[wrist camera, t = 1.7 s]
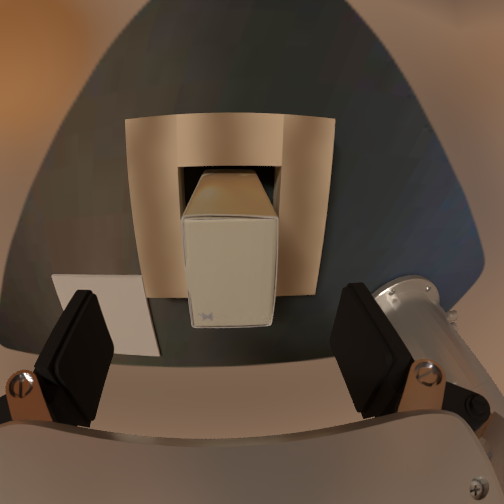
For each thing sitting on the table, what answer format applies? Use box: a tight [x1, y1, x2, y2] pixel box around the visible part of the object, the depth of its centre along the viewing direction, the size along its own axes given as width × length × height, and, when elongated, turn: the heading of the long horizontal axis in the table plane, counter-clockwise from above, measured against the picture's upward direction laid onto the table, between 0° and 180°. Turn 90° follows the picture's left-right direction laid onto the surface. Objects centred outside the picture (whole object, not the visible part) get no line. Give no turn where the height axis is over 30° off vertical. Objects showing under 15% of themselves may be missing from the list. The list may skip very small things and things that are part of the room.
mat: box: [52, 274, 160, 356], centre depth 29 cm, size 11×11×1 cm
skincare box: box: [181, 169, 279, 328], centre depth 19 cm, size 6×4×12 cm
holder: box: [125, 113, 335, 298], centre depth 23 cm, size 15×15×3 cm
